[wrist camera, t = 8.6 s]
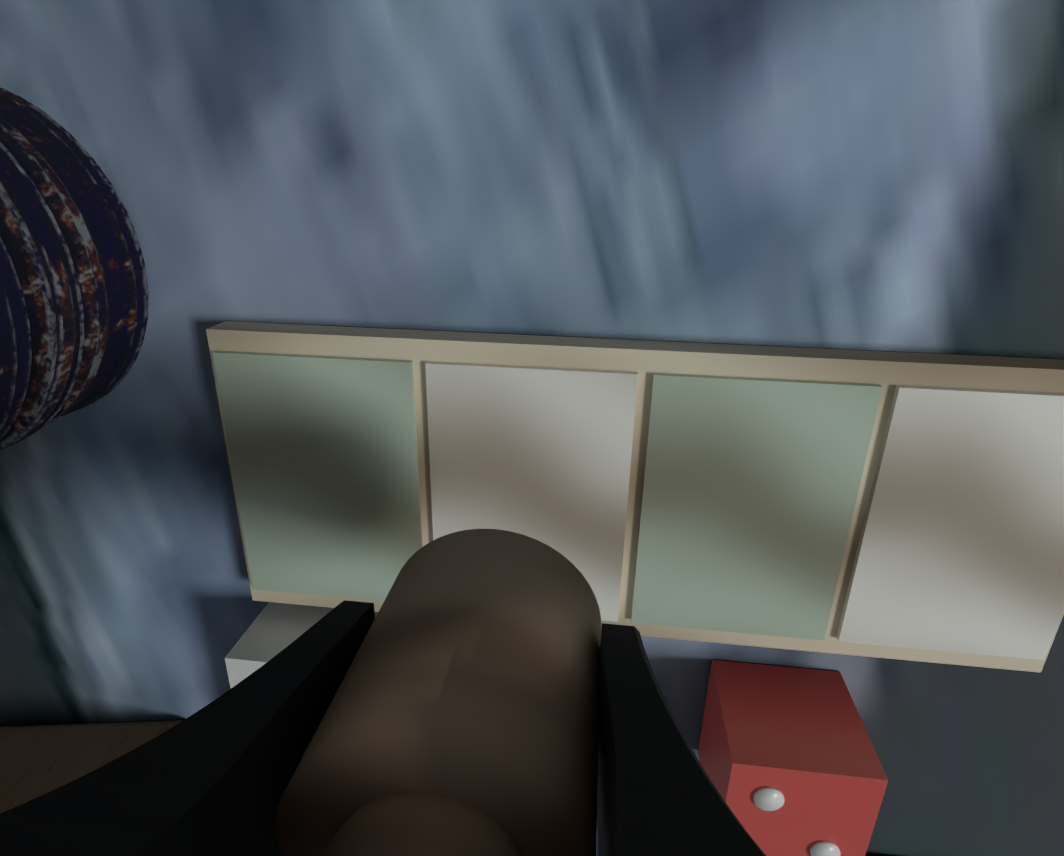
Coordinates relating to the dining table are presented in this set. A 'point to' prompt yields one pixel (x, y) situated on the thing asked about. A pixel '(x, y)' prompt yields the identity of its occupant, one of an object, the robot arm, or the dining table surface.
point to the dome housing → (270, 637)
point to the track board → (665, 480)
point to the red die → (791, 758)
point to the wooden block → (63, 754)
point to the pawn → (461, 714)
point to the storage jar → (61, 275)
